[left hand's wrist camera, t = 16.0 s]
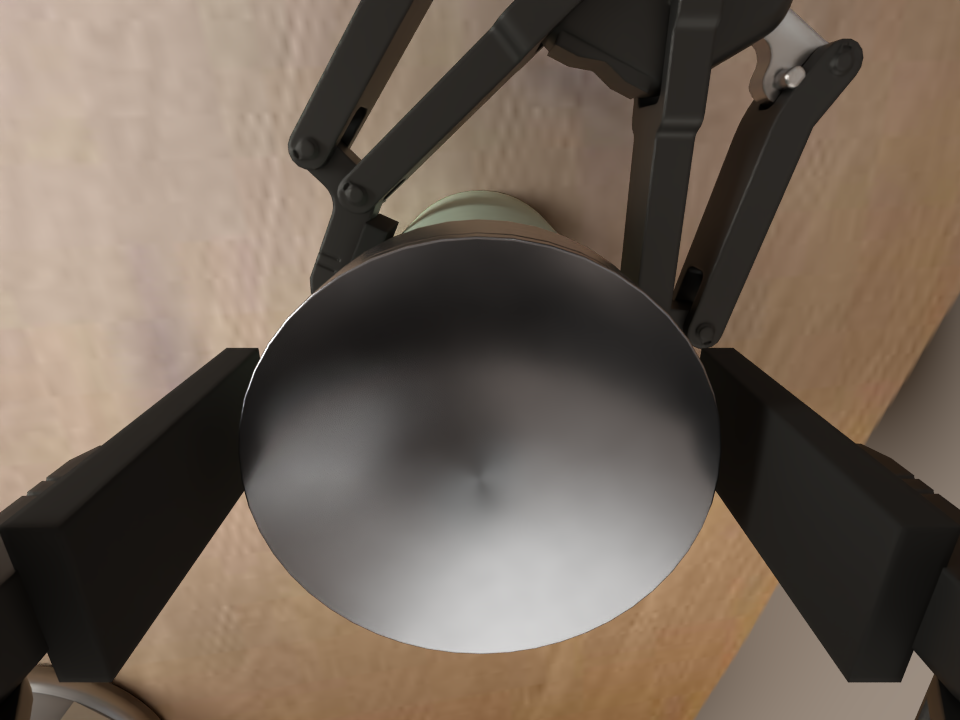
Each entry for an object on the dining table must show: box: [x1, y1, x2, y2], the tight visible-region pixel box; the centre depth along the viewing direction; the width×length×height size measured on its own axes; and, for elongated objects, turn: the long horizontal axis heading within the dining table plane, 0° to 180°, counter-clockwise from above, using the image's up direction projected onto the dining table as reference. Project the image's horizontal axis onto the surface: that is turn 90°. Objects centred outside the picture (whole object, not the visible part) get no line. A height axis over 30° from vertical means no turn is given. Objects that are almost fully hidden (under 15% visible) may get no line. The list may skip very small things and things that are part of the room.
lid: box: [238, 219, 721, 654], centre depth 11 cm, size 9×9×2 cm
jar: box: [402, 190, 558, 234], centre depth 18 cm, size 8×8×16 cm
